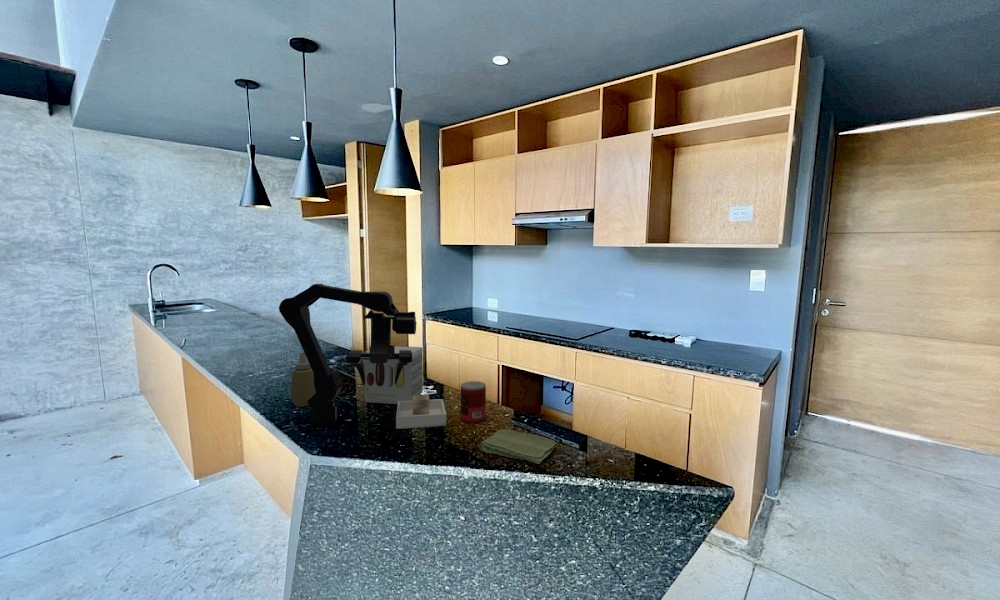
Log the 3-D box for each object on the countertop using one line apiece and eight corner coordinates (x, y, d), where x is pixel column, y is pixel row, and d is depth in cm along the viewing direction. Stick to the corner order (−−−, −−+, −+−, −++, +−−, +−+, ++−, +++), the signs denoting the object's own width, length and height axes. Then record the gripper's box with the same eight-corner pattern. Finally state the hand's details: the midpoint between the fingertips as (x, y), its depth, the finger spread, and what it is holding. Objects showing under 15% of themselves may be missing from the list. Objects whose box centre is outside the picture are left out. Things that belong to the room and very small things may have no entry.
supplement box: (363, 403, 142) (363, 351, 141) (379, 392, 156) (378, 345, 154) (411, 405, 140) (411, 353, 139) (423, 394, 154) (423, 346, 152)
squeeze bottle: (285, 406, 138) (283, 353, 136) (304, 399, 145) (303, 349, 144) (303, 409, 135) (301, 356, 133) (322, 402, 142) (321, 351, 141)
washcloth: (541, 469, 97) (541, 456, 97) (476, 453, 105) (476, 441, 105) (558, 448, 109) (559, 436, 109) (499, 435, 117) (499, 424, 117)
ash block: (412, 419, 126) (412, 400, 125) (412, 414, 130) (412, 395, 130) (429, 418, 127) (429, 399, 126) (428, 413, 132) (428, 394, 131)
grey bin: (396, 428, 120) (396, 417, 119) (398, 411, 134) (397, 401, 134) (446, 425, 123) (446, 414, 122) (442, 409, 137) (442, 399, 137)
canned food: (489, 416, 131) (489, 382, 130) (477, 425, 123) (478, 389, 123) (468, 413, 134) (468, 380, 133) (455, 421, 127) (456, 386, 126)
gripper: (343, 337, 113) (343, 393, 114) (412, 338, 117) (411, 391, 118) (349, 331, 124) (349, 382, 125) (412, 332, 128) (411, 381, 129)
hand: (380, 384), depth 124 cm, fingers open, 9 cm apart
